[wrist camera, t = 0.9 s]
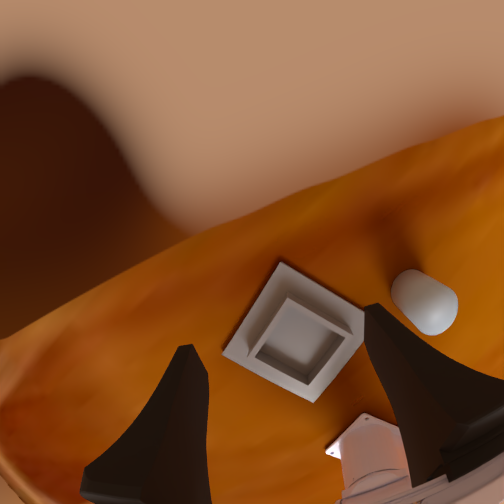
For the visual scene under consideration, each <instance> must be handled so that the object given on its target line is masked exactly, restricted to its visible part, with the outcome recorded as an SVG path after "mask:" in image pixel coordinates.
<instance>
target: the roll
mask: <svg viewBox="0 0 504 504" xmlns="http://www.w3.org/2000/svg"><path fill="white" fill-rule="evenodd" d="M391 298H392V301H393V303H394V304H395V305H396V306H397V307H398V308H399V309H400V310H401V311H402V312H403V313H404V314H405V315H406V316H407V317H408V319H409V320H410V321H411V322H412V323H413V324H414V325H415V326H416V327H417V328H418V329H419V330H420V331H421V332H422V333H424V334H427V335H437V334H440V333H442V332H443V331H445V330H446V329H447V328H448V327H449V326H450V325H451V324H452V323H453V321H454V319H455V317H456V314H457V311H458V300H457V297H456V294H455V293H454V291H453V290H452V289H450V288H449V287H447V286H445V285H443V284H442V283H440V282H438V281H436V280H435V279H433V278H431V277H429V276H428V275H426V274H424V273H422V272H420V271H418V270H415V269H409V270H405V271H403V272H402V273H400V274H399V275H398V276H397V277H396V279H395V280H394V282H393V284H392V287H391Z"/></svg>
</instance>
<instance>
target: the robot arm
mask: <svg viewBox="0 0 504 504" xmlns="http://www.w3.org/2000/svg"><path fill="white" fill-rule="evenodd" d="M364 342H365V345H366V348H367V351H368V354H369V357H370V360H371V362H372V364H373V366H374V369H375V371H376V373H377V375H378V377H379V379H380V381H381V383H382V385H383V388H384V390H385V392H386V394H387V396H388V398H389V400H390V403H391V405H392V408H393V411H394V414H395V417H396V420H397V424H398V427H397V426H395V425H392V424H390V423H387V422H385V421H383V420H380V419H378V418H376V417H373V416H371V415H369V414H366V413H363V414H361V415H360V416H359V417H358V418H357V419H356V420H355V421H354V422H353V423H352V424H351V425H350V426H349V427H348V428H347V429H346V430H345V431H344V432H343V433H342V434H341V435H340V436H339V437H338V438H337V439H336V440H335V441H334V442H333V443H332V444H331V445H330V446H329V447H328V448H327V449H326V454H329V455H331V456H334V457H337V458H340V459H341V463H342V470H343V477H344V485H345V490H343V491H342V499H339V500H337V501H336V502H335V504H500V503H502V502H503V501H504V380H502V379H498V378H495V377H491V376H488V375H486V374H483V373H481V372H478V371H476V370H473V369H471V368H469V367H467V366H465V365H463V364H461V363H458V362H456V361H455V360H453V359H451V358H449V357H447V356H446V355H444V354H442V353H441V352H439V351H438V350H436V349H435V348H433V347H432V346H430V345H429V344H427V343H426V342H425V341H423V340H422V339H421V338H419V337H418V336H417V335H415V334H414V333H413V332H412V331H410V330H409V329H408V328H407V327H406V326H404V325H403V324H402V323H401V322H400V321H398V320H397V319H396V318H395V317H394V316H393V315H392V314H390V313H389V312H388V311H387V310H386V309H385V308H384V307H383V306H382V305H380V304H379V303H375V304H372V305H368V306H365V307H364ZM208 405H209V382H208V373H207V371H206V369H205V367H204V365H203V363H202V361H201V360H200V358H199V356H198V354H197V352H196V350H195V348H194V346H193V344H189V345H183V346H179V347H178V348H177V350H176V352H175V354H174V356H173V358H172V360H171V362H170V364H169V366H168V368H167V369H166V371H165V373H164V375H163V377H162V379H161V380H160V382H159V384H158V386H157V388H156V389H155V391H154V393H153V394H152V396H151V397H150V399H149V401H148V402H147V404H146V405H145V407H144V408H143V410H142V411H141V412H140V414H139V415H138V417H137V418H136V419H135V420H134V422H133V423H132V424H131V425H130V427H129V428H128V429H127V430H126V431H125V432H124V433H123V435H122V436H121V437H120V438H119V439H118V440H117V441H116V442H115V443H114V444H113V445H112V446H111V447H110V448H109V449H107V450H106V451H105V452H104V453H103V454H102V455H101V456H99V457H98V458H97V459H95V460H94V461H93V462H92V463H90V464H89V465H88V466H86V467H85V468H84V472H83V477H82V482H81V487H80V495H81V496H82V497H83V498H85V499H87V500H89V501H90V502H92V503H94V504H212V501H211V494H210V487H209V478H208V468H207V453H206V434H207V420H208ZM367 417H368V418H367ZM365 418H367V419H365Z"/></svg>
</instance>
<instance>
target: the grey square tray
mask: <svg viewBox="0 0 504 504" xmlns="http://www.w3.org/2000/svg"><path fill="white" fill-rule="evenodd" d="M363 341H364V311H363V310H361V309H359V308H358V307H356V306H354V305H353V304H351V303H350V302H348V301H346V300H345V299H343V298H341V297H340V296H338V295H336V294H335V293H333V292H331V291H330V290H328V289H326V288H325V287H323V286H321V285H320V284H318V283H316V282H315V281H313V280H312V279H310V278H308V277H307V276H305V275H303V274H302V273H300V272H298V271H297V270H295V269H293V268H292V267H290V266H288V265H287V264H285V263H283V262H282V261H280V263H279V264H278V266H277V268H276V269H275V271H274V273H273V274H272V276H271V277H270V279H269V281H268V282H267V284H266V285H265V287H264V289H263V290H262V292H261V293H260V295H259V297H258V298H257V300H256V301H255V303H254V305H253V306H252V308H251V309H250V311H249V312H248V314H247V316H246V317H245V319H244V320H243V322H242V323H241V325H240V327H239V328H238V330H237V331H236V333H235V334H234V336H233V338H232V339H231V341H230V342H229V344H228V345H227V347H226V348H225V350H224V351H223V353H222V355H224V356H225V357H227V358H229V359H231V360H232V361H234V362H236V363H238V364H239V365H241V366H243V367H245V368H247V369H249V370H250V371H252V372H254V373H256V374H258V375H260V376H261V377H263V378H265V379H267V380H269V381H271V382H273V383H275V384H277V385H279V386H280V387H282V388H284V389H286V390H288V391H290V392H292V393H294V394H296V395H298V396H300V397H302V398H305V399H307V400H309V401H311V402H313V403H314V402H315V400H316V399H317V398H318V397H319V396H320V395H321V393H322V392H323V391H324V390H325V389H326V388H327V386H328V385H329V384H330V383H331V382H332V380H333V379H334V378H335V377H336V375H337V374H338V373H339V372H340V371H341V369H342V368H343V367H344V366H345V364H346V363H347V362H348V360H349V359H350V358H351V357H352V355H353V354H354V353H355V351H356V350H357V349H358V347H359V346H360V345H361V343H362V342H363Z"/></svg>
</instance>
